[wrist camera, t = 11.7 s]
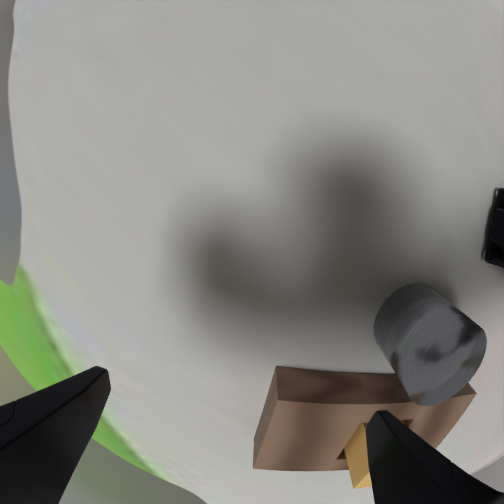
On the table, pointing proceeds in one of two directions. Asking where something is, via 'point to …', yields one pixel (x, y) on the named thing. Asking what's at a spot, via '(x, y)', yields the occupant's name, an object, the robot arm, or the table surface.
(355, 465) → the square peg
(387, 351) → the round peg
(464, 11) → the table surface
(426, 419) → the bore block
